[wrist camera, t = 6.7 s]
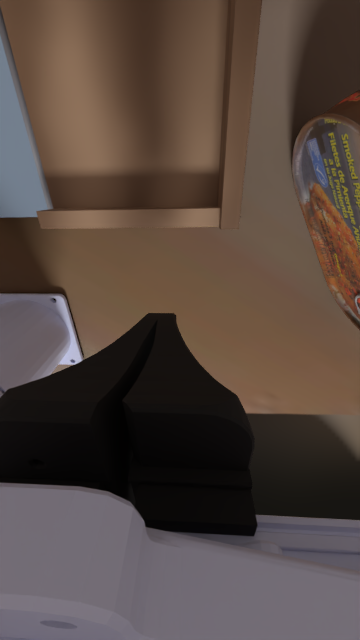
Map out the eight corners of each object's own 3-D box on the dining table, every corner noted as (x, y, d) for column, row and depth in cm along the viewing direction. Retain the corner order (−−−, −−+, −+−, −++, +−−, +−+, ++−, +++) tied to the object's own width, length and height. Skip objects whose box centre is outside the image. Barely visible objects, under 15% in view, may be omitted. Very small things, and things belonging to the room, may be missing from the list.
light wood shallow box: (70, 220, 18) (31, 231, 14) (-5, -100, 11) (-135, -288, 7) (227, 218, 17) (238, 229, 13) (253, -124, 10) (297, -348, 6)
